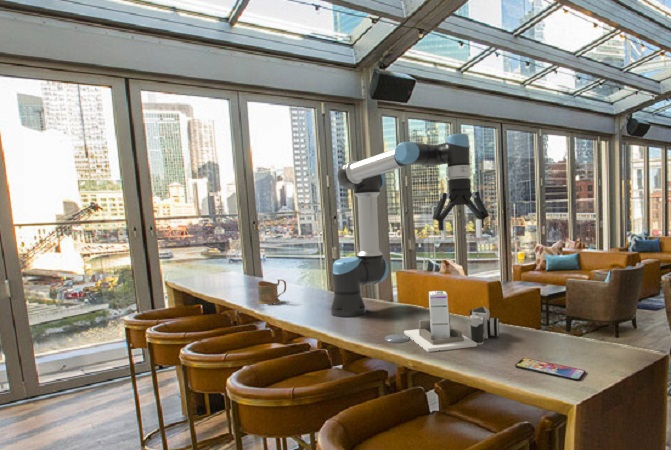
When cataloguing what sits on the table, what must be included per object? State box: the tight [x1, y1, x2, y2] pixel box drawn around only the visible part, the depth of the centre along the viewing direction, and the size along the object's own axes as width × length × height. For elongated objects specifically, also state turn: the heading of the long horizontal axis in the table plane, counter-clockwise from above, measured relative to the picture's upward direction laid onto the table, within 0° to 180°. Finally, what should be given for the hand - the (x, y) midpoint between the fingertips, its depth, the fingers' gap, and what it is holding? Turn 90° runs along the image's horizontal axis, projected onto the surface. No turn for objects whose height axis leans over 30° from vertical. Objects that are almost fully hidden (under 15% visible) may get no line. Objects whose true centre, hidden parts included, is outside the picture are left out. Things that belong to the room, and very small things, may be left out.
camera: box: [469, 306, 500, 346], centre depth 132 cm, size 16×9×10 cm, turn 157°
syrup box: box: [428, 290, 450, 339], centre depth 130 cm, size 6×6×14 cm
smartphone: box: [514, 357, 586, 382], centre depth 103 cm, size 7×1×15 cm
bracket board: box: [403, 317, 478, 353], centre depth 132 cm, size 20×16×6 cm
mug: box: [256, 279, 287, 305], centre depth 203 cm, size 12×18×12 cm, turn 57°
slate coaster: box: [384, 333, 410, 344], centre depth 135 cm, size 8×8×1 cm
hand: (461, 238), depth 143 cm, fingers open, 13 cm apart
